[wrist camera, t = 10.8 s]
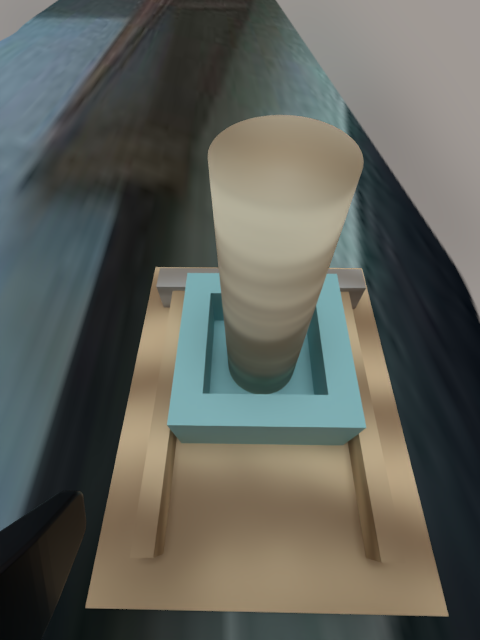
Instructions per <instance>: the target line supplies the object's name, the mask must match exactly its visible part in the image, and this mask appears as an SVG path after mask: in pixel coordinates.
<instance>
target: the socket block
mask: <svg viewBox="0 0 480 640" xmlns="http://www.w3.org/2000/svg"><path fill="white" fill-rule="evenodd" d="M167 426H168V427H169V428H170V430H171V431H172V432H173V433H174V434H175V436H176V437H177V438H178V439H179V441H180V442H181V443H209V444H279V445H344V444H345V443H347V442H348V441H349V440H351V439H352V438H353V437H355V436H356V435H358V434H359V433H360V432H362V431H363V430H364V429H366V423H365V418H364V412H363V407H362V402H361V397H360V391H359V386H358V381H357V376H356V371H355V365H354V360H353V355H352V350H351V345H350V339H349V334H348V329H347V324H346V319H345V313H344V308H343V303H342V298H341V292H340V287H339V282H338V277H337V274H327V275H326V278H325V281H324V284H323V287H322V290H321V293H320V295H319V298H318V301H317V304H316V307H315V310H314V313H313V316H312V319H311V322H310V325H309V328H308V331H307V334H306V337H305V340H304V343H303V346H302V349H301V352H300V354H299V357H298V360H297V363H296V366H295V369H294V372H293V375H292V377H291V379H290V381H289V382H288V384H287V385H286V386H285V387H283V388H282V389H281V390H279V391H277V392H274V393H271V394H253V393H250V392H248V391H246V390H244V389H242V388H241V387H240V386H238V385H237V384H236V382H235V381H234V380H233V378H232V377H231V374H230V371H229V366H228V356H227V346H226V336H225V326H224V316H223V306H222V296H221V286H220V276H219V273H187V280H186V287H185V295H184V302H183V310H182V317H181V324H180V332H179V339H178V347H177V354H176V362H175V369H174V376H173V384H172V391H171V399H170V406H169V414H168V421H167Z"/></svg>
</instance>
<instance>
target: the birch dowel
mask: <svg viewBox="0 0 480 640" xmlns="http://www.w3.org/2000/svg"><path fill="white" fill-rule="evenodd" d="M208 165H209V175H210V185H211V195H212V205H213V215H214V225H215V236H216V246H217V256H218V266H219V276H220V286H221V296H222V306H223V316H224V326H225V336H226V346H227V356H228V366H229V371H230V374H231V377H232V378H233V380H234V381H235V382H236V384H237V385H238V386H240V387H241V388H242V389H244V390H246V391H248V392H250V393H253V394H271V393H274V392H277V391H279V390H281V389H282V388H283V387H285V386H286V385H287V384H288V382H289V381H290V379H291V377H292V375H293V372H294V369H295V366H296V363H297V360H298V357H299V354H300V352H301V349H302V346H303V343H304V340H305V337H306V334H307V331H308V328H309V325H310V322H311V319H312V316H313V313H314V310H315V307H316V304H317V301H318V298H319V295H320V293H321V290H322V287H323V284H324V281H325V278H326V275H327V272H328V269H329V266H330V263H331V260H332V257H333V254H334V251H335V248H336V245H337V242H338V239H339V237H340V234H341V231H342V228H343V225H344V222H345V219H346V216H347V213H348V210H349V207H350V204H351V201H352V198H353V195H354V192H355V189H356V186H357V183H358V180H359V178H360V175H361V172H362V169H363V155H362V152H361V150H360V148H359V147H358V145H357V144H356V142H355V141H354V140H353V139H352V138H351V137H350V136H349V135H347V134H346V133H344V132H343V131H342V130H340V129H338V128H336V127H334V126H332V125H330V124H327V123H325V122H322V121H319V120H315V119H311V118H306V117H301V116H292V115H271V116H262V117H256V118H252V119H248V120H244V121H241V122H239V123H236V124H234V125H232V126H230V127H228V128H227V129H225V130H224V131H222V132H221V133H220V134H219V135H218V136H217V137H216V138H215V139H214V140H213V142H212V144H211V145H210V148H209V151H208Z"/></svg>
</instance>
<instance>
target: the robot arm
mask: <svg viewBox="0 0 480 640" xmlns="http://www.w3.org/2000/svg"><path fill="white" fill-rule="evenodd" d="M85 529H86V516H85V508H84V500H83V495H82V493H81V492H80V491H61V492H59V493H58V494H56V495H55V496H53V497H52V498H50V499H49V500H47V501H46V502H44V503H42V504H41V505H39V506H38V507H36V508H35V509H33V510H32V511H30V512H29V513H27V514H26V515H24V516H23V517H21V518H20V519H18V520H17V521H15V522H14V523H12V524H11V525H9V526H7V527H6V528H4V529H3V530H1V531H0V640H41V639H42V637H43V635H44V633H45V631H46V628H47V626H48V624H49V622H50V620H51V617H52V615H53V613H54V610H55V608H56V605H57V603H58V600H59V598H60V595H61V593H62V590H63V587H64V585H65V582H66V580H67V577H68V575H69V572H70V569H71V567H72V564H73V562H74V559H75V557H76V554H77V551H78V549H79V546H80V544H81V541H82V538H83V536H84V533H85Z"/></svg>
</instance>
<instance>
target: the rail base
mask: <svg viewBox="0 0 480 640" xmlns="http://www.w3.org/2000/svg"><path fill="white" fill-rule="evenodd" d="M187 273H219V268H205V267H156V268H155V273H154V278H153V283H152V288H151V292H150V297H149V302H148V307H147V312H146V317H145V321H144V326H143V331H142V336H141V341H140V346H139V350H138V355H137V360H136V365H135V370H134V375H133V379H132V384H131V389H130V394H129V399H128V404H127V408H126V413H125V418H124V423H123V428H122V433H121V437H120V442H119V447H118V452H117V457H116V462H115V466H114V471H113V476H112V481H111V486H110V491H109V495H108V500H107V505H106V510H105V515H104V520H103V524H102V529H101V534H100V539H99V544H98V549H97V553H96V558H95V563H94V568H93V573H92V578H91V582H90V587H89V592H88V597H87V602H86V607H85V608H102V609H147V610H191V611H235V612H279V613H323V614H367V615H411V616H449V615H448V611H447V607H446V603H445V599H444V595H443V591H442V587H441V583H440V579H439V575H438V571H437V567H436V563H435V559H434V555H433V551H432V547H431V543H430V539H429V535H428V531H427V527H426V523H425V519H424V515H423V511H422V507H421V503H420V499H419V495H418V491H417V487H416V483H415V479H414V475H413V471H412V467H411V463H410V459H409V455H408V451H407V447H406V443H405V439H404V435H403V431H402V427H401V423H400V419H399V415H398V411H397V407H396V403H395V399H394V395H393V391H392V387H391V383H390V379H389V375H388V371H387V367H386V363H385V359H384V355H383V351H382V347H381V343H380V339H379V335H378V331H377V327H376V323H375V319H374V315H373V311H372V307H371V303H370V299H369V295H368V291H367V287H366V283H365V279H364V275H363V271H362V268H329V269H328V272H327V274H337V277H338V282H339V287H340V292H341V298H342V303H343V308H344V313H345V319H346V324H347V329H348V334H349V339H350V345H351V350H352V355H353V360H354V365H355V371H356V376H357V381H358V386H359V391H360V397H361V402H362V407H363V412H364V418H365V423H366V429H364V430H363V431H362V432H360V433H359V434H358V435H356V436H355V437H353V438H352V439H351V440H349V441H348V442H347V443H345V444H344V445H279V444H209V443H181V442H180V441H179V439H178V438H177V437H176V436H175V434H174V433H173V432H172V431H171V430H170V428H169V427H168V426H167V421H168V414H169V406H170V399H171V391H172V384H173V376H174V369H175V362H176V354H177V347H178V339H179V332H180V324H181V317H182V310H183V302H184V295H185V287H186V280H187Z"/></svg>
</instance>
